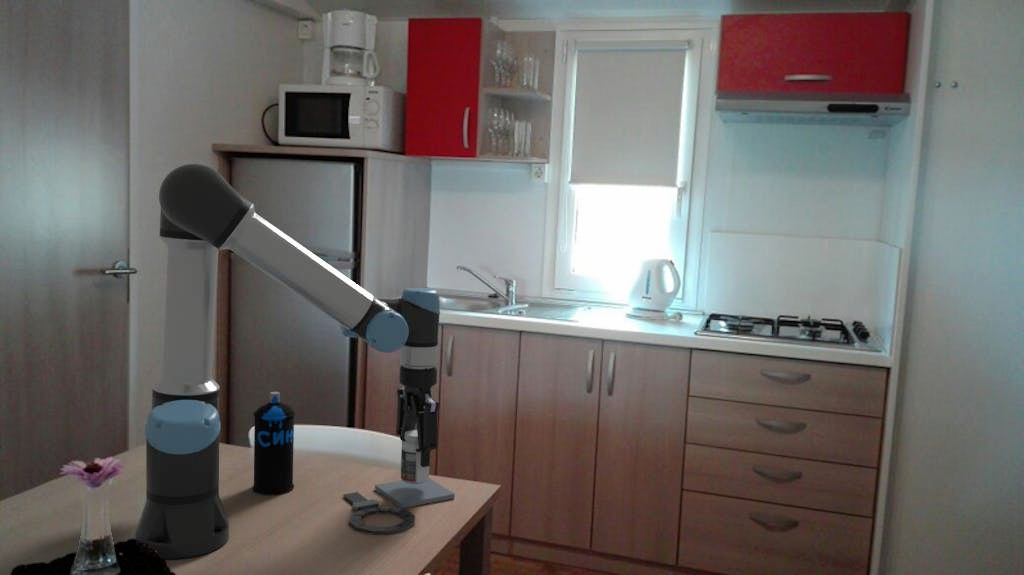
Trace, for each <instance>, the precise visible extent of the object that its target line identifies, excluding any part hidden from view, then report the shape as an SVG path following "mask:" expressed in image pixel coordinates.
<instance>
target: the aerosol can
mask: <svg viewBox="0 0 1024 575" xmlns="http://www.w3.org/2000/svg"><path fill="white" fill-rule="evenodd" d="M280 394H281V393H280V392H279V391H271V392H269V402H266V403H264V404H262V405H260V406H259V407H258V408H257V409H256V410H255V411H254V412H253V413H252V414H253V417H254V433H253V434H254V436H253V437H254V438H253V440H254V441H253V449H254V450H253V451H254V452H253V456H254V457H253V486H252V491H253V492H254V493H256V494H259V495H264V496H277V495H278V496H279V495H284V494H287V493H289V492H291V491H292V490H294V488H295V484H294V438H295V437H294V434H295V433H294V432H295V431H294V430H295V416H296V411H295V410H293V408H292V407H291V406H289V405H288V404H286V403H283V402H281V400H280V398H281V395H280Z"/></svg>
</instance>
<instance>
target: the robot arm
mask: <svg viewBox="0 0 1024 575" xmlns="http://www.w3.org/2000/svg"><path fill="white" fill-rule="evenodd" d="M161 182H162V183H161V185H160V188H159V193H158V202H159V205H160V206H159V207H160V216H159V217H160V218H159V219H160V220H159V239H160V240H161V241H162V242H163V243H164V244H165V245H166V247H167V263H166V283H165V284H166V285H165V304H164V305H165V306H164V307H165V309H164V326H163V327H164V328H163V329H164V330H163V347H162V348H163V349H162V350H163V351H162V366H161V367H162V369H161V372H162V373H161V377H160V379H159V380H157V381H156V382H155V383H154V384H152V394H151V410H150V411H149V413H148V414H147V417H146V423H145V425H144V434H145V435H144V436H145V441H146V443H145V446H146V447H145V451H146V453H145V454H146V457H145V458H146V460H145V462H146V466H145V467H146V470H145V471H146V474H145V475H146V476H145V477H146V479H145V480H146V485H145V487H146V490H145V491H146V493H145V494H146V495H145V497H146V499H145V503H144V505H143V506H144V507H143V509H142V512H141V515H140V518H139V520H138V524H137V527H136V529H135V534H134V535H135V536H134V539H135V540H137V541H140V542H142V543H145V544H147V545H148V546H149V547H151V548H153V549H154V550H156V551H157V552H158V553H159V555H160V557H161V558H160V559H163V560H165V559H166V560H167V559H168V560H169V559H170V560H173V559H174V560H175V559H176V560H177V559H187V558H192V557H193V558H194V557H197V556H202V555H205V554H208V553H212V552H213V551H214V552H215V550H218V549H220V548H221V547H223V546H224V545H225V544H226V543H227V542H228V541H229V539H230V523H229V520H228V518H227V514H226V512H225V509H224V504H223V502H222V500H221V497H220V489H219V488H220V485H219V484H220V432H221V421H220V415H219V411H220V410H219V406H220V385H219V384H218V382H216V381H215V380H214V379H213V376H212V375H213V357H214V341H215V340H214V338H215V321H216V320H215V319H216V303H217V302H216V300H217V285H218V284H217V281H218V280H217V279H218V266H219V265H218V262H219V260H218V259H219V251H223V250H230V251H231V252H233V253H234V254H236V255H237V256H239V257H240V258H242V259H243V260H244V261H246V262H248V263H250V264H251V265H252V266H254V267H255V268H257V269H258V270H260V271H261V272H263V273H264V274H266V275H268V277H270V278H271V279H273V280H274V281H276V282H278V283H279V284H280V285H282V286H283V287H285V288H287V289H288V290H289V291H290V292H292V293H294V294H295V295H296V296H298V297H300V298H301V299H302V300H304V301H306V303H309V305H311V306H313V307H314V308H316V309H318V310H319V311H320V312H322V313H324V314H325V315H327V316H328V317H329V318H331V319H332V320H334V321H335V322H337V323H338V324H340V331H341V335H342V336H344V337H346V338H355V339H359V338H360V339H362V341H364V342H366V343H367V344H368V345H369V346H370V347H371V348H372V349H374V350H376V351H378V352H381V353H384V354H388V353H394V352H397V351H398V350H400V351H399V352H400V353H399V363H400V364H401V365H400V367H399V378H398V380H399V384H401V385H402V386H404V387H402V388H401V387H400V388H397V389H396V392H397V393H396V394H397V408H396V409H397V410H396V411H397V412H396V429H395V434H396V436H399V440H400V441H401V446H402V445H403V444H404V443H405V442H406V440H405V439H404V437H405V432H407V431H410V430H417V434H418V444H419V449H416V476H415V482H417V483H418V482H424V481H429V478H430V467H431V466H430V465H431V451H434V450H438V411H439V407H440V402H439V401H438V400H433V399H432V390H431V388H432V387H434V386H435V385H436V384H437V382H438V367H437V366H436V365H437V364H438V352H439V351H440V350H439V330H440V329H439V327H440V315H441V311H440V306H441V305H440V303H441V302H440V294H439V292H438V291H437V290H435V289H433V288H426V287H425V288H424V287H408V288H405V289H403V291H402V294H401V296H400V298H393V299H392V298H377V297H375V296H374V295H372V294H371V293H370V292H368V291H367V290H366V289H364V288H363V287H361V286H360V285H359V284H356V282H354V281H353V280H351V279H350V278H349V277H347V276H346V275H344V274H343V273H342V272H340V271H339V270H337V269H336V268H334V267H333V266H332V265H331V264H329V263H327V262H326V261H324V260H323V259H321V258H320V257H319V256H317V255H316V254H314V253H313V252H312V251H311V250H309V249H307V248H306V247H304V246H303V245H302V244H300V243H299V242H298V241H296V240H295V239H293V238H292V237H291V236H289V235H287V234H286V233H284V232H283V231H281V230H280V229H279V228H278V227H276V226H275V225H273V224H272V223H271V222H269V221H268V220H266V219H265V218H263V217H262V216H261V215H259V214H257V212H256V210H255V209H256V208H255V205H254V203H252V202H251V201H250V200H248V199H246V198H245V197H244V196H243V195H241V194H240V193H239V192H238V191H237V190H236V189H234V187H232V185H231V184H230V183H229V182H228V181H227V180H226V179H225V177H223V176H222V174H220V172H218V171H217V170H215V169H213V167H210V166H208V165H204V164H199V163H188V164H183V165H180V166H178V167H175V168H174V169H173V170H171V171H170V172H169V173H167V175H166V176H165V178H164V180H162V181H161ZM400 455H401V456H400V460H401V459H402V450H401V454H400ZM135 540H134V541H135Z"/></svg>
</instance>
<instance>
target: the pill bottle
mask: <svg viewBox="0 0 1024 575" xmlns="http://www.w3.org/2000/svg"><path fill="white" fill-rule="evenodd" d="M404 439H405V440H406V442H405V443H404V444H403V445H402V444H401V451H402V459H401V458H400V460H401V461H400V480H402V481H403V482H405V483H408V484H422V483H425V482H427V481H424V482H418V483H417V482H415V476H416V449H419V444H418V434H417V429H415V430H410V431H407V432H405V437H404Z"/></svg>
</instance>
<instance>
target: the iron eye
mask: <svg viewBox="0 0 1024 575" xmlns="http://www.w3.org/2000/svg"><path fill="white" fill-rule="evenodd" d="M342 495H343V498H344V499H345V500H346V501H347V502H349V503H350V504H351V505H352V509H353V510H354V511H355V512H353V513H351V514H350V517H349V520H348V524H349V525H350V527H352V528H353V529H354V530H355V531H357V532H362V533H366V534H369V535H392V534H397V533H403V532H405V531H407V530H409V529H410V528H413V526H415V522H416V515H415V514H414V513H413V512H411V511H410V510H408V509H407V508H403V509H402V508H400V507H398V506H388V505H387V506H383V505H382V506H381V505H380V504H379V502H378V501H377V500H375V499H367V498H366V497H365V496H363V495H362V494H361V493H359V492H358V491H355V492H349V493H344V494H342ZM376 513H377V514H390V513H391V515H394V516H398V517H401V518H402V519H403V521H401V522H400V523H397V524H394V525H389V526H375V525H370V524H366V523H365V522H364V521H362V519H363V518H366V517H368V516H371V515H376Z"/></svg>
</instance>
